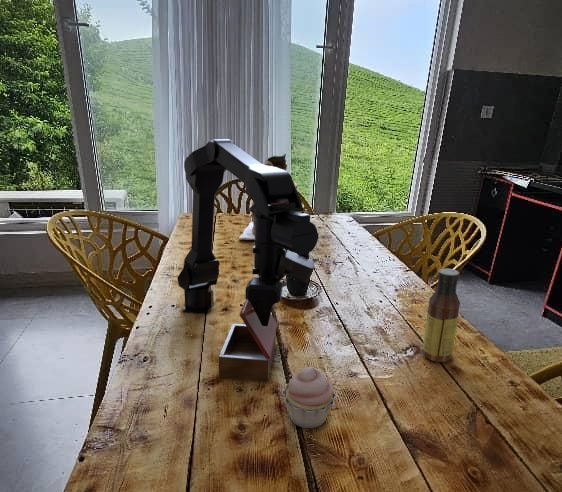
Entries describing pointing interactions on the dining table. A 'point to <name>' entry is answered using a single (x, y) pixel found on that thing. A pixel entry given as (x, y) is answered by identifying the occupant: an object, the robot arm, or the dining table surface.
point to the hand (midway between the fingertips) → (267, 315)
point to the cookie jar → (250, 230)
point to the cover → (259, 328)
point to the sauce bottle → (442, 318)
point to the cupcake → (309, 398)
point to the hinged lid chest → (243, 356)
